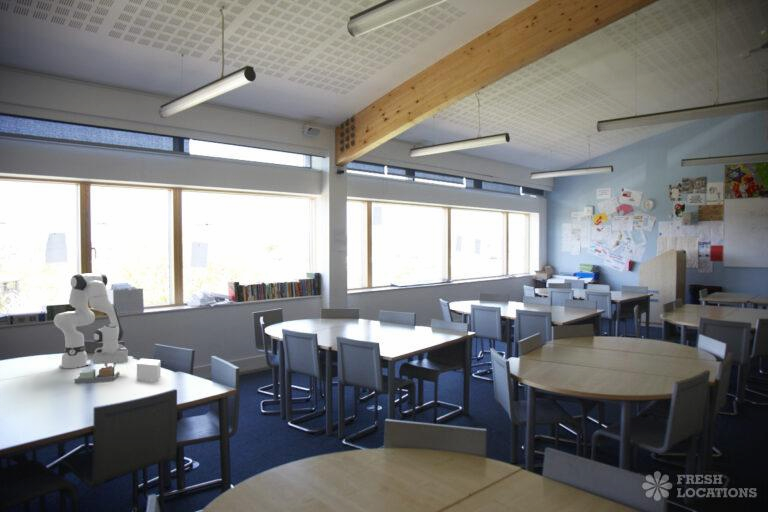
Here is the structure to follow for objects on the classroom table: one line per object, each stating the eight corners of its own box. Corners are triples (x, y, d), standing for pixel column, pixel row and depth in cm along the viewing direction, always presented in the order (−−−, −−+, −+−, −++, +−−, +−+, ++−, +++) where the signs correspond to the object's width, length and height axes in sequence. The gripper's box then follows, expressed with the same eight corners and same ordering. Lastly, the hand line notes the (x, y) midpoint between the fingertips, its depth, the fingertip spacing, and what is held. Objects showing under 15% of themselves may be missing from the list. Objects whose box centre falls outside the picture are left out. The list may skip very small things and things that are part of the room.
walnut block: (104, 374, 311) (104, 365, 311) (116, 373, 313) (116, 364, 313) (98, 380, 297) (98, 370, 297) (111, 379, 299) (111, 369, 299)
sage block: (82, 379, 298) (82, 370, 298) (95, 378, 301) (95, 369, 301) (79, 382, 291) (79, 373, 291) (92, 381, 294) (93, 372, 294)
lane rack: (81, 377, 303) (81, 373, 303) (119, 374, 310) (119, 371, 310) (74, 383, 289) (74, 379, 289) (114, 380, 296) (114, 376, 296)
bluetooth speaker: (111, 356, 365) (111, 344, 365) (125, 355, 370) (125, 342, 370) (115, 362, 346) (115, 348, 346) (129, 360, 352) (129, 347, 352)
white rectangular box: (145, 384, 289) (145, 367, 289) (128, 375, 309) (128, 360, 309) (169, 379, 300) (169, 363, 300) (152, 371, 320) (152, 356, 320)
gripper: (129, 347, 318) (129, 367, 318) (94, 348, 311) (94, 369, 311) (127, 348, 312) (127, 369, 312) (91, 350, 305) (91, 372, 305)
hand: (110, 369), depth 311 cm, fingers closed on walnut block
